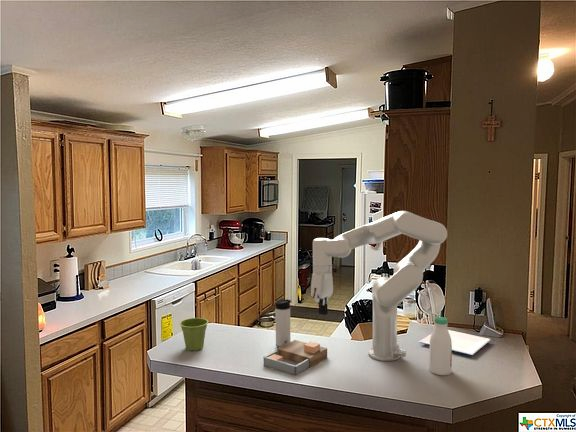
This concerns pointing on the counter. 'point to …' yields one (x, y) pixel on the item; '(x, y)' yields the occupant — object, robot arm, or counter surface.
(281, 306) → the travel mug
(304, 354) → the brown piece
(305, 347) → the tile
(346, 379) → the counter surface
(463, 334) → the plate
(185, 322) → the plant pot
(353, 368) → the counter surface
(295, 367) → the box
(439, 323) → the milk bottle
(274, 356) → the tile
